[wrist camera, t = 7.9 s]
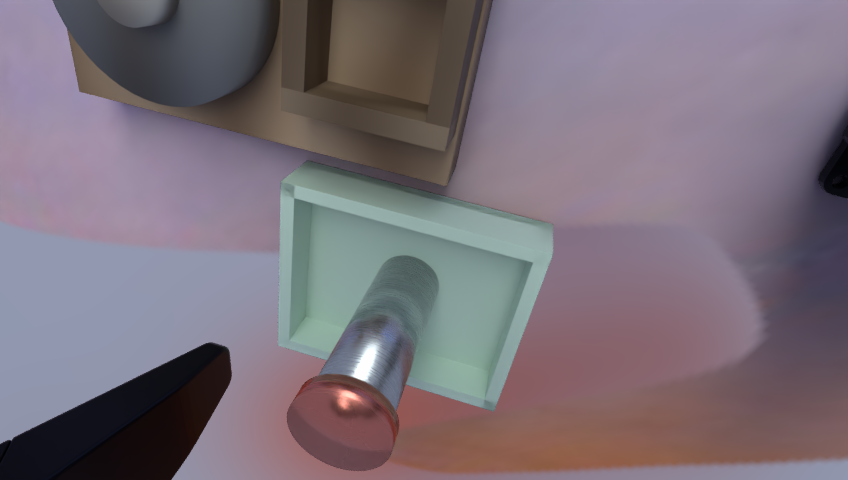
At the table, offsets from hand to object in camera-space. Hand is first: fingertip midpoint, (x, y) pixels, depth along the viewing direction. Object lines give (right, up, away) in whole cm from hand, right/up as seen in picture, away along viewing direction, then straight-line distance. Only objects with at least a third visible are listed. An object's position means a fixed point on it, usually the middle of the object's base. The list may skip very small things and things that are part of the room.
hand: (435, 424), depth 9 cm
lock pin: (-1, +2, +14) cm, 14 cm away
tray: (-1, +2, +14) cm, 14 cm away
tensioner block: (-6, +13, +9) cm, 17 cm away
